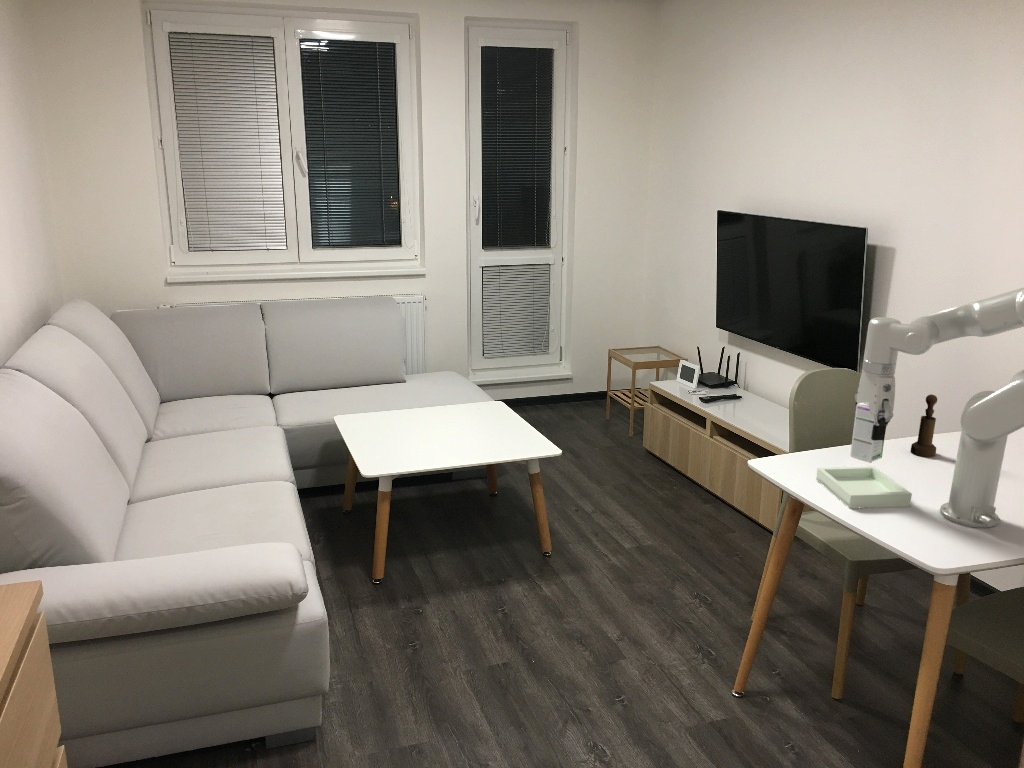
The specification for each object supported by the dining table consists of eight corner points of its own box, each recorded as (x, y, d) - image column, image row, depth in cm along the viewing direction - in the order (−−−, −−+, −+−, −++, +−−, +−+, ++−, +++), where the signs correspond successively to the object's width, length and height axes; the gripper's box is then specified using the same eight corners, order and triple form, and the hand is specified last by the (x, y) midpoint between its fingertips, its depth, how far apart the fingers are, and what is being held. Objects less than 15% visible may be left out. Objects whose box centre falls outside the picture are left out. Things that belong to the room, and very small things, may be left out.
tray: (909, 506, 206) (911, 493, 205) (849, 508, 204) (850, 495, 203) (872, 478, 223) (874, 466, 222) (816, 480, 221) (817, 468, 220)
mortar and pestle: (930, 450, 245) (939, 392, 240) (938, 458, 238) (948, 398, 233) (907, 449, 245) (916, 391, 240) (915, 456, 239) (924, 397, 234)
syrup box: (870, 463, 207) (879, 408, 203) (848, 456, 211) (856, 402, 207) (882, 458, 210) (890, 404, 206) (860, 451, 215) (867, 398, 211)
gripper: (913, 376, 196) (901, 446, 201) (874, 358, 213) (865, 422, 218) (883, 377, 195) (872, 446, 200) (847, 358, 212) (838, 423, 217)
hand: (869, 433), depth 209 cm, fingers closed on syrup box, 7 cm apart
